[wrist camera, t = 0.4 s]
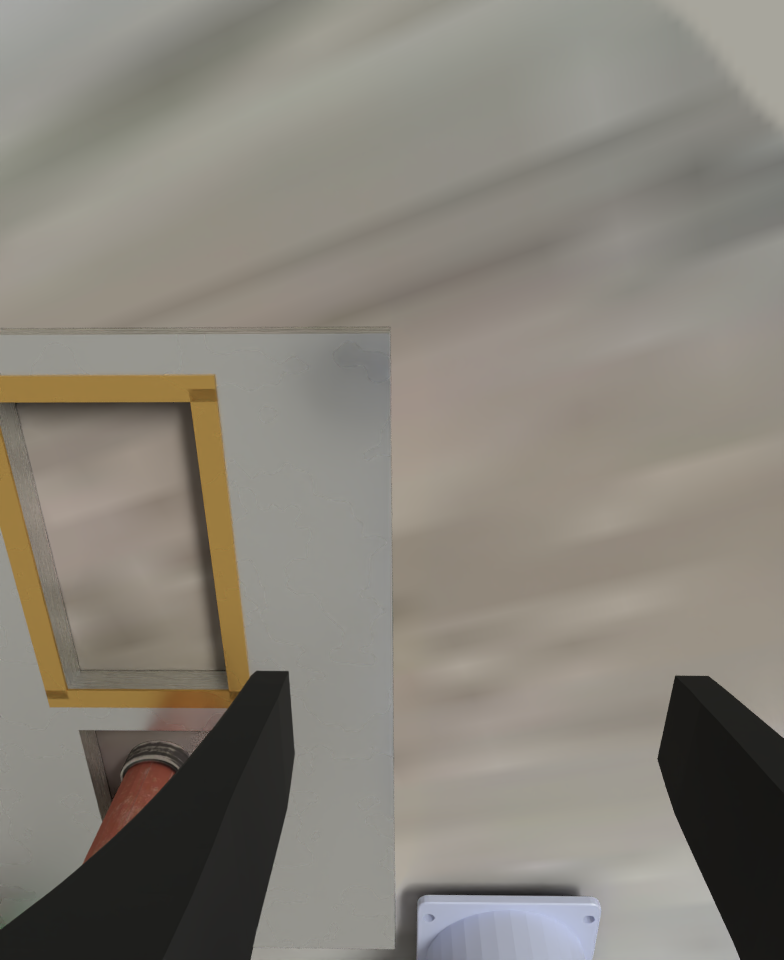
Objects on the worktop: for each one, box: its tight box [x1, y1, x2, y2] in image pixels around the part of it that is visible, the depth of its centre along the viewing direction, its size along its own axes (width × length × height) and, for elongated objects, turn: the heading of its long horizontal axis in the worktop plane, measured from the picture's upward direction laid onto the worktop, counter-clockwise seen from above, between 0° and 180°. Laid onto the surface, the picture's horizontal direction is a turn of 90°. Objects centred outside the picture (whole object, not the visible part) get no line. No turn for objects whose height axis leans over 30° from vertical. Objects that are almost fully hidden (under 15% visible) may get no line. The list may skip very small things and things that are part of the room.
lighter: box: [83, 740, 190, 864], centre depth 24 cm, size 8×3×10 cm, turn 13°
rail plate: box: [0, 327, 395, 949], centre depth 25 cm, size 28×18×1 cm, turn 0°
